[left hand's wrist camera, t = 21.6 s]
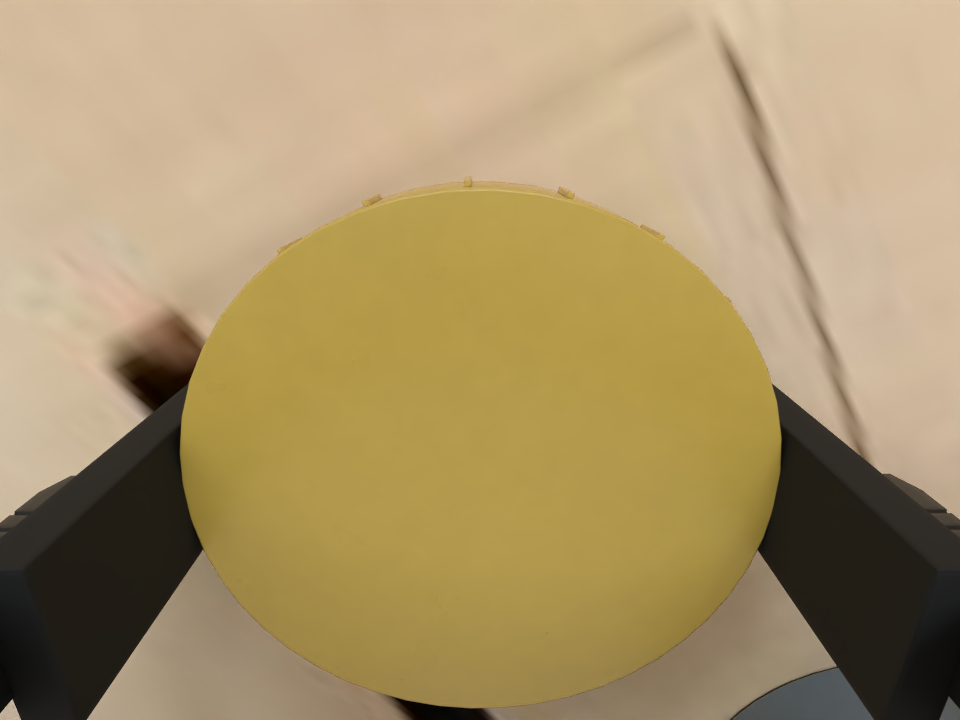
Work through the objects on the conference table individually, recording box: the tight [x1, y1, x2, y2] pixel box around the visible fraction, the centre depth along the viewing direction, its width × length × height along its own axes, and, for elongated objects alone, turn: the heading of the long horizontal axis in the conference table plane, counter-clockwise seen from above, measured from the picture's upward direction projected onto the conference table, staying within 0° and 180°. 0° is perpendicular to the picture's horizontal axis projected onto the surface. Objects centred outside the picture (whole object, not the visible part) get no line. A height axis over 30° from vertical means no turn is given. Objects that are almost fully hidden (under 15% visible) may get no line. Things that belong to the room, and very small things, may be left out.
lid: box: [180, 177, 782, 708], centre depth 11 cm, size 11×11×2 cm
